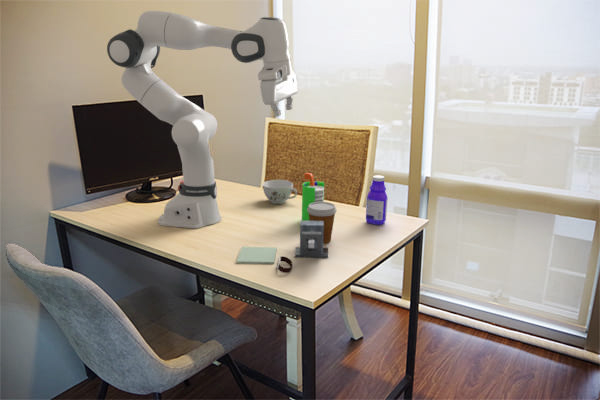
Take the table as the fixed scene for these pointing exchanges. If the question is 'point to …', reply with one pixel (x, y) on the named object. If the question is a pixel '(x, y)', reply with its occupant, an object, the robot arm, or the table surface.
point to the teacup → (278, 190)
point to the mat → (257, 255)
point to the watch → (282, 269)
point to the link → (311, 250)
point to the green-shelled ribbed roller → (311, 194)
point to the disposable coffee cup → (323, 217)
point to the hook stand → (311, 242)
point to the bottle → (376, 202)
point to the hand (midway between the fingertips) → (283, 112)
